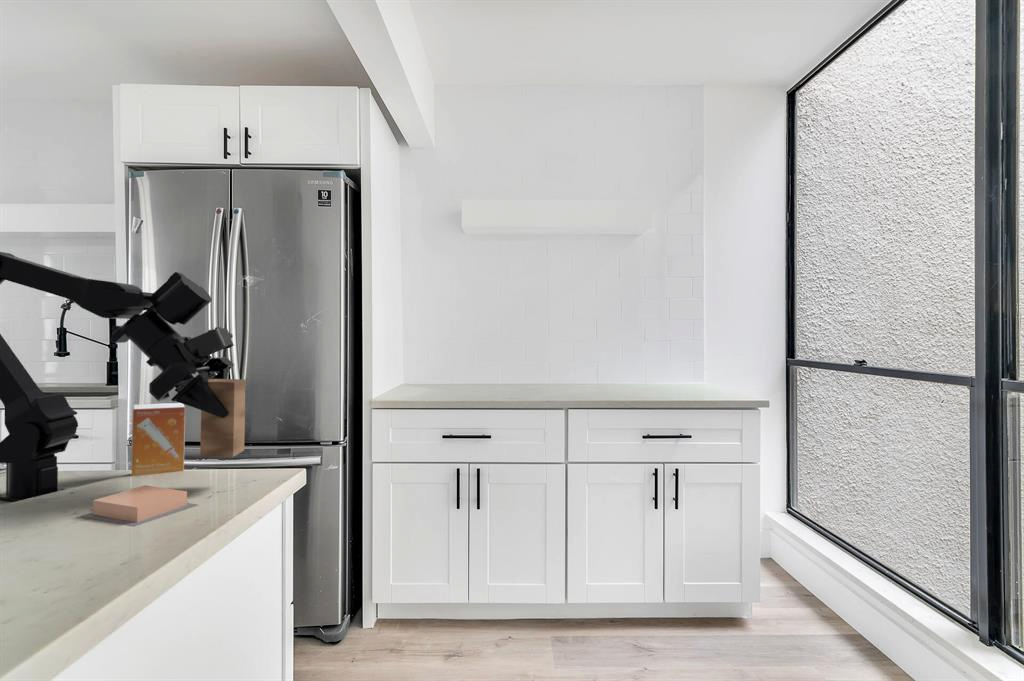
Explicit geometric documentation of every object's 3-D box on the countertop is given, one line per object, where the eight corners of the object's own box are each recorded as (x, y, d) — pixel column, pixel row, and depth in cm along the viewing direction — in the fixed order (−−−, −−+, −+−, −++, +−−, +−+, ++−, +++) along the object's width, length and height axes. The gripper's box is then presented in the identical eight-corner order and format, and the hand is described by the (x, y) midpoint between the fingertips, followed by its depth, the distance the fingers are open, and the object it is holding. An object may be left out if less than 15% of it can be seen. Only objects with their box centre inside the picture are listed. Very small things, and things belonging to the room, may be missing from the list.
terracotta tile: (92, 514, 80) (93, 500, 79) (144, 498, 87) (145, 485, 87) (137, 522, 77) (137, 507, 77) (186, 505, 85) (187, 491, 85)
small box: (131, 483, 100) (132, 408, 100) (131, 475, 105) (132, 404, 105) (184, 477, 104) (185, 406, 104) (182, 470, 110) (183, 402, 109)
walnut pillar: (200, 456, 92) (201, 381, 91) (213, 450, 97) (214, 378, 96) (233, 456, 92) (234, 382, 92) (244, 450, 97) (245, 379, 97)
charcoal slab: (81, 530, 79) (81, 515, 79) (148, 509, 89) (148, 496, 88) (134, 541, 76) (134, 526, 76) (198, 517, 85) (198, 504, 85)
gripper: (172, 308, 84) (249, 385, 86) (222, 311, 103) (285, 374, 104) (114, 361, 83) (193, 437, 85) (175, 354, 102) (239, 417, 103)
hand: (232, 413), depth 94 cm, fingers closed on walnut pillar, 5 cm apart
